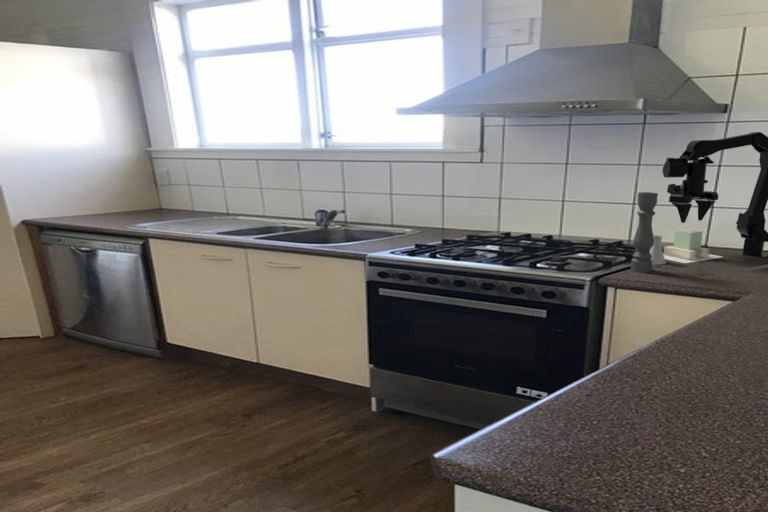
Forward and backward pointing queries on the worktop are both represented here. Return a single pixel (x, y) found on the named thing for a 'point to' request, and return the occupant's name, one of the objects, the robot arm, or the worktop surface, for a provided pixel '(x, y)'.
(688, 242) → the sage cube
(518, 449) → the worktop surface
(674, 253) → the birch plinth
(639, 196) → the candle holder
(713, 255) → the pale blue-grey board
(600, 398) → the worktop surface
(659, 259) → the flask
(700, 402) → the worktop surface
